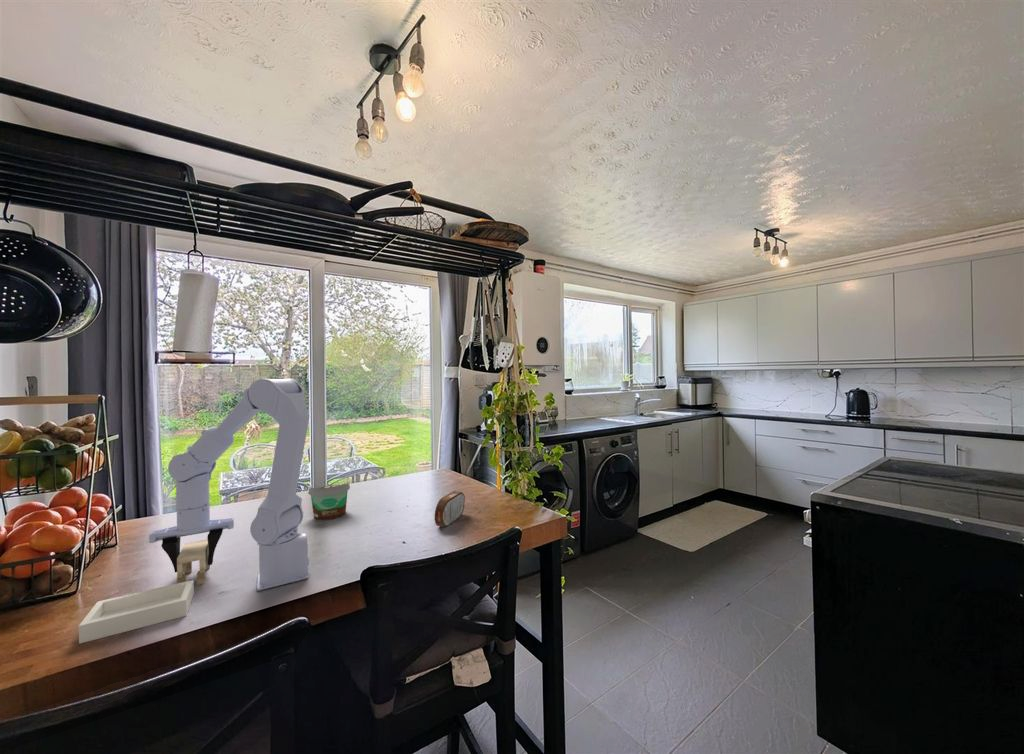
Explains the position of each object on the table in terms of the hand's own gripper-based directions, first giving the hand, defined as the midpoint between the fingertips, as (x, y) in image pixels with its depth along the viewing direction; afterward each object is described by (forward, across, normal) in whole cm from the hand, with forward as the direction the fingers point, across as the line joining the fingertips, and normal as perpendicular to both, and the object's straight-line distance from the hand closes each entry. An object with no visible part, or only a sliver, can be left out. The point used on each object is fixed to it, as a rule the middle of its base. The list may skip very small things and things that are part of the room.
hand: (194, 566), depth 87 cm
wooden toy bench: (+2, 0, 0) cm, 2 cm away
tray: (+2, +6, +13) cm, 15 cm away
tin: (+3, -61, +1) cm, 61 cm away
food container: (+3, -31, -24) cm, 39 cm away
